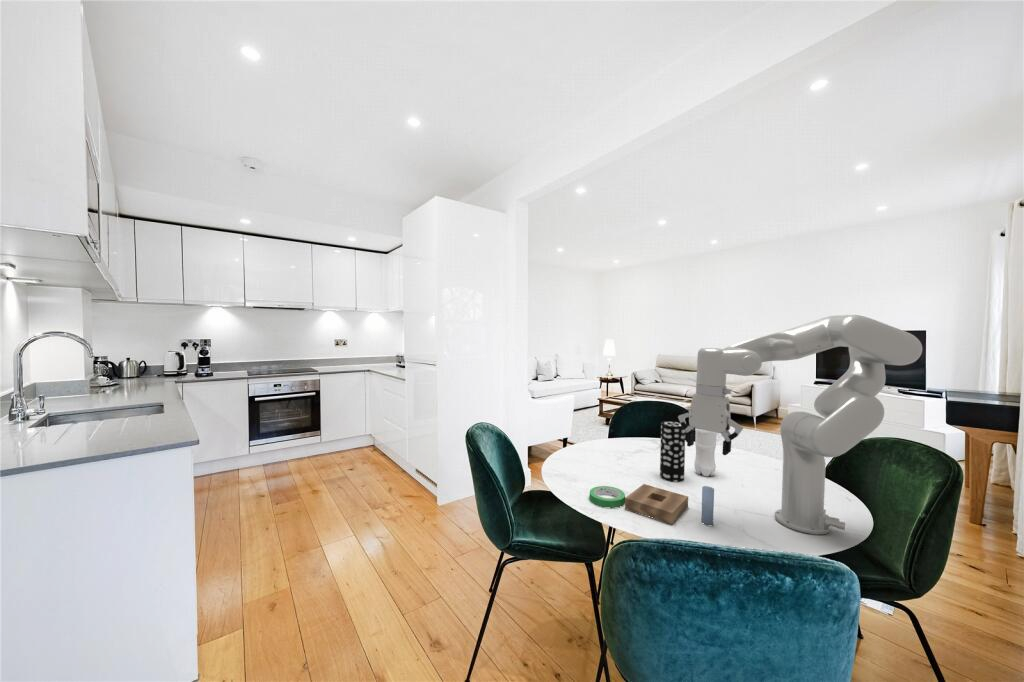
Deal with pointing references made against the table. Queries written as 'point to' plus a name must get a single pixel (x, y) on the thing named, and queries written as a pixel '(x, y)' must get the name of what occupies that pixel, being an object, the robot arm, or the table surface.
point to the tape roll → (607, 501)
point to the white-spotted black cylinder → (672, 451)
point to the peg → (707, 505)
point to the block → (657, 503)
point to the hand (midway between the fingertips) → (707, 449)
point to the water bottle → (705, 452)
